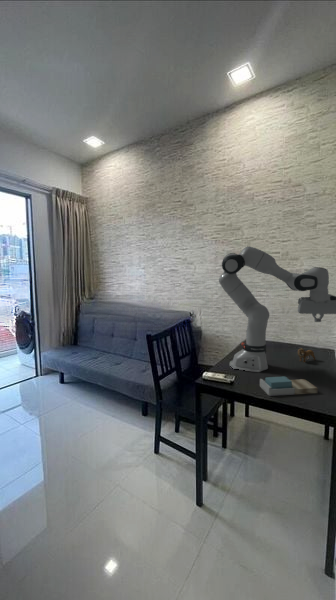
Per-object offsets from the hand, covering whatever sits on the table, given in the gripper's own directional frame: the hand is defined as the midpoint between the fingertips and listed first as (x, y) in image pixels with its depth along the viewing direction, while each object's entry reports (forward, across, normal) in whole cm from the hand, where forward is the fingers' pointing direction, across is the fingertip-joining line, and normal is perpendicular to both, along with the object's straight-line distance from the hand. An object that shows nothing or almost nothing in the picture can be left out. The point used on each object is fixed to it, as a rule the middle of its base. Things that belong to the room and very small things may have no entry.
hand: (317, 321), depth 140 cm
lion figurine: (+29, +1, +19) cm, 35 cm away
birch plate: (+29, -15, -23) cm, 40 cm away
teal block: (+26, -21, -25) cm, 42 cm away
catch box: (+29, -27, -26) cm, 48 cm away
